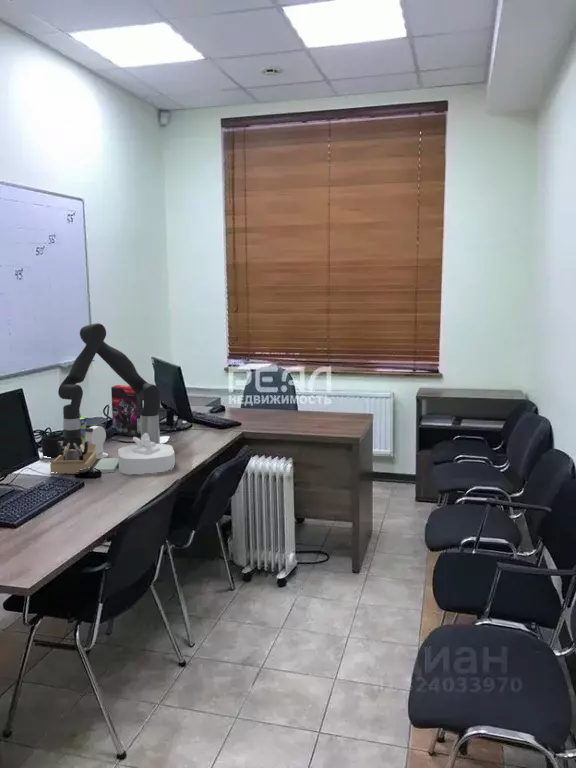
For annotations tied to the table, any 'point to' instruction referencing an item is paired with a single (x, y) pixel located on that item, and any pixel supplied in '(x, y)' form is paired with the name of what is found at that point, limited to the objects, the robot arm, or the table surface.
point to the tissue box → (145, 457)
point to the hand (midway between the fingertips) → (73, 463)
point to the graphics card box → (126, 410)
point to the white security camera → (97, 439)
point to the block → (72, 455)
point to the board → (107, 465)
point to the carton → (74, 461)
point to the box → (83, 428)
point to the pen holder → (51, 445)
